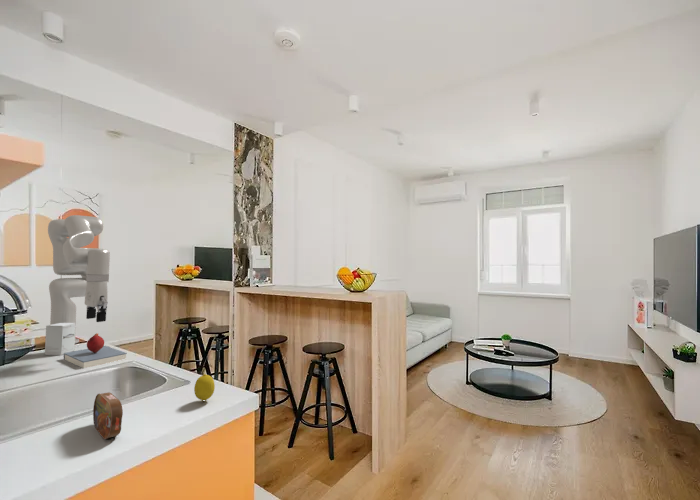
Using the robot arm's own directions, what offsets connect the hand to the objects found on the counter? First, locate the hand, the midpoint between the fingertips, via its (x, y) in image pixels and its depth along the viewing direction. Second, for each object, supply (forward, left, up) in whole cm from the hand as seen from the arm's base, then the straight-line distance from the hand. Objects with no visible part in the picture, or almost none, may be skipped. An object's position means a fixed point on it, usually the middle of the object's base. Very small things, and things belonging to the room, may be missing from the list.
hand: (95, 319), depth 143 cm
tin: (+58, -48, -16) cm, 77 cm away
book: (+1, 0, -17) cm, 17 cm away
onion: (0, 0, -14) cm, 14 cm away
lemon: (+70, -27, -16) cm, 76 cm away
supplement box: (-22, +4, -16) cm, 28 cm away
